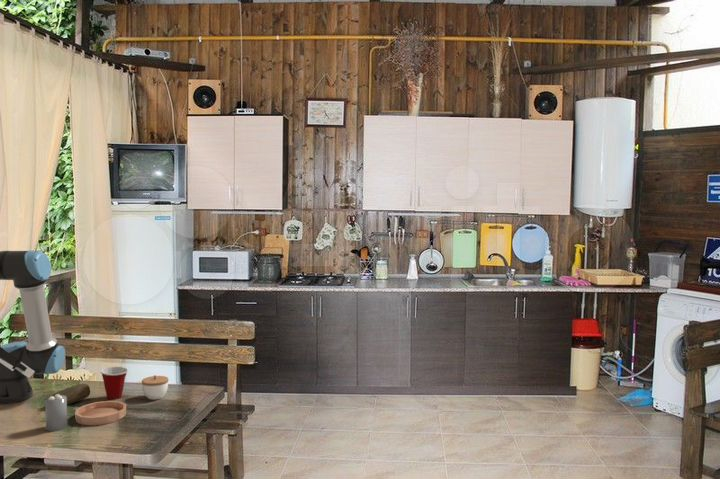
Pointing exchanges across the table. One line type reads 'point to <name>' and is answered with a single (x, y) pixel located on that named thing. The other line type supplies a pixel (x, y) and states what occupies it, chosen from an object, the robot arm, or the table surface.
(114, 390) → the plastic cup
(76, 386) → the stone weight
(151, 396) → the lidded jar
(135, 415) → the table surface
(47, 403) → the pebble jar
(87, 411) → the terracotta bowl
